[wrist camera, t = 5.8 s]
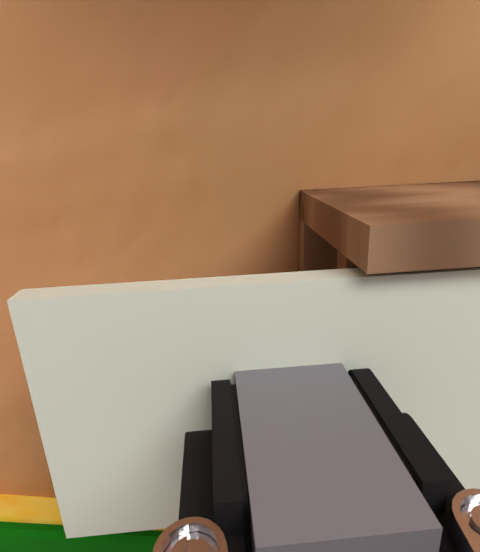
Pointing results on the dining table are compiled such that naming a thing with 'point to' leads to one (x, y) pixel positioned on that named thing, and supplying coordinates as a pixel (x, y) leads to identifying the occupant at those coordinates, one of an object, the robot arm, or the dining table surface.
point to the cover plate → (195, 337)
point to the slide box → (390, 227)
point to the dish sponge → (58, 530)
